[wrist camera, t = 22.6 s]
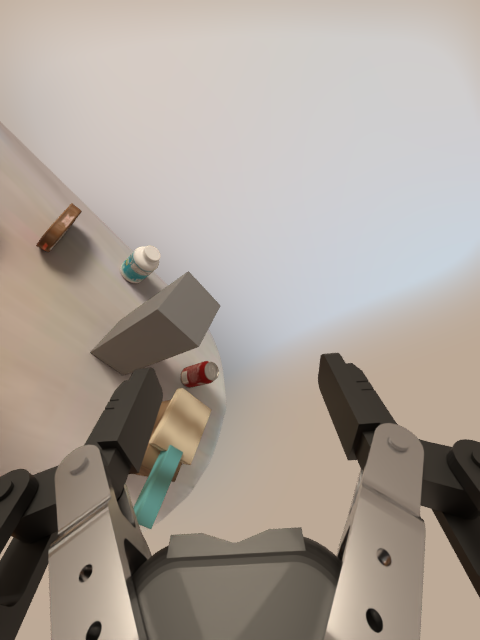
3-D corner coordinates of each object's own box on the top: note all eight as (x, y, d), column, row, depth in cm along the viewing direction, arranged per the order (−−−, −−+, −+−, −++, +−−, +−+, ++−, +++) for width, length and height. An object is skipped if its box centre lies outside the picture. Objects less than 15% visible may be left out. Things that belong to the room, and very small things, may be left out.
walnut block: (124, 472, 55) (174, 481, 42) (95, 457, 52) (140, 463, 39) (151, 422, 63) (200, 418, 51) (127, 407, 60) (173, 399, 47)
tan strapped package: (157, 531, 38) (165, 534, 36) (111, 513, 34) (118, 516, 33) (205, 410, 52) (213, 410, 51) (176, 389, 49) (184, 387, 47)
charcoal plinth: (123, 375, 61) (198, 346, 42) (90, 352, 57) (157, 309, 38) (147, 342, 70) (220, 305, 51) (120, 320, 66) (188, 271, 47)
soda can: (178, 386, 73) (202, 380, 66) (180, 365, 76) (203, 357, 69) (195, 388, 77) (220, 383, 70) (196, 368, 80) (220, 362, 73)
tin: (64, 215, 63) (73, 195, 58) (76, 223, 65) (87, 205, 60) (31, 251, 55) (39, 232, 50) (47, 259, 57) (56, 242, 52)
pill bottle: (128, 258, 74) (149, 236, 66) (146, 275, 77) (169, 256, 69) (113, 271, 69) (135, 249, 61) (134, 288, 72) (157, 269, 64)
